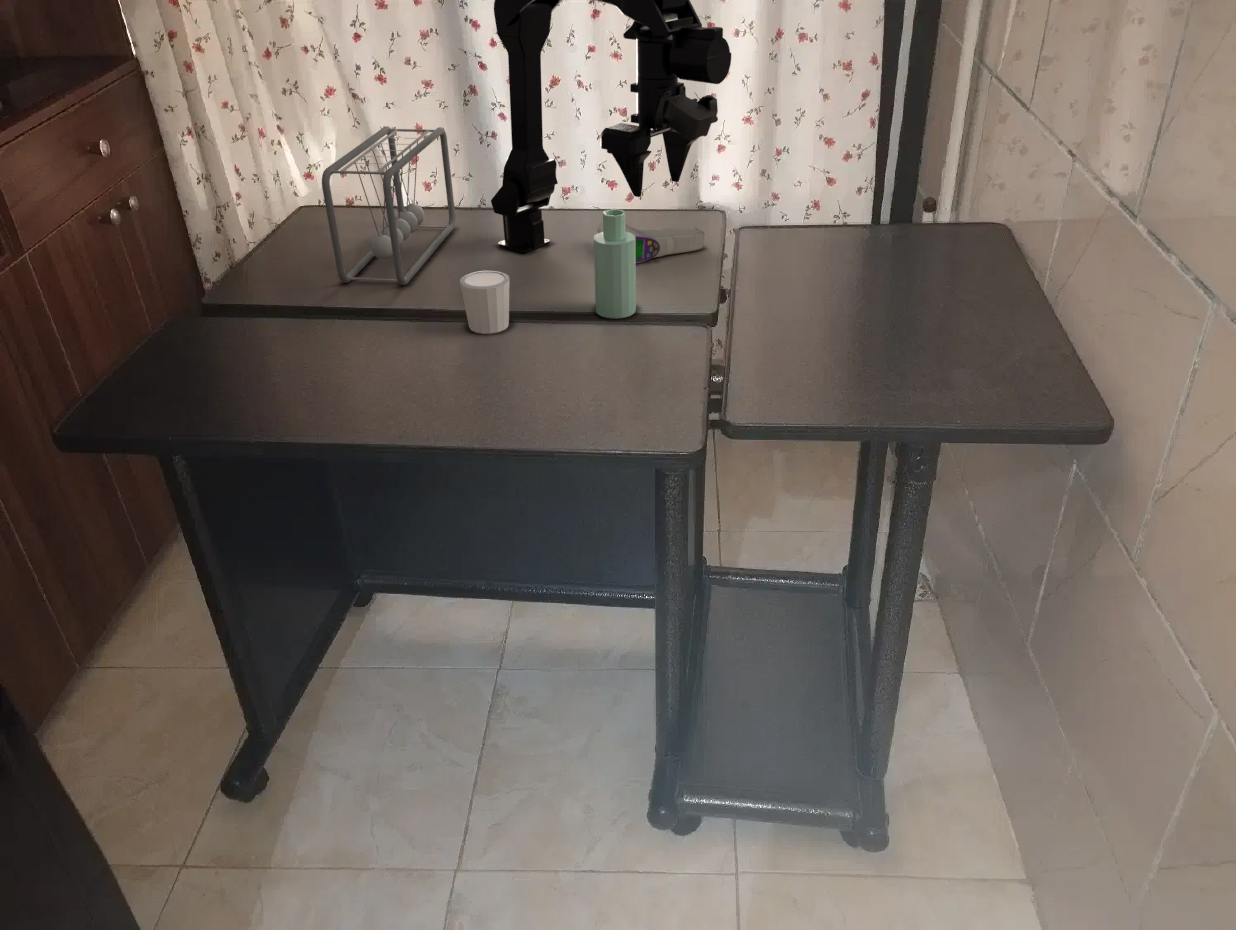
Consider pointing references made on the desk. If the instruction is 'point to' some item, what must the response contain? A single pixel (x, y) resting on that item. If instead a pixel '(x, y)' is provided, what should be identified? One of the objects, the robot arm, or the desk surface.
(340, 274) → the newton's cradle
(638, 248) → the infrared thermometer
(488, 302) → the shot glass
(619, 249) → the water bottle
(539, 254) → the desk surface
